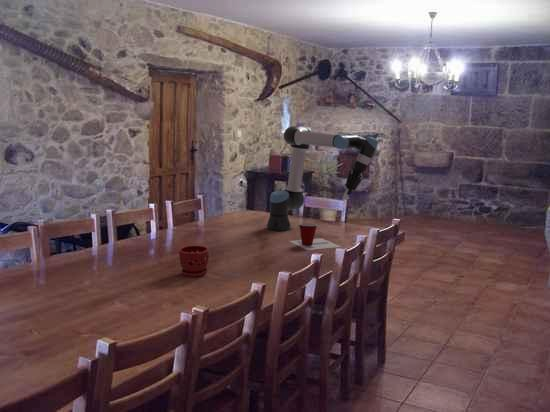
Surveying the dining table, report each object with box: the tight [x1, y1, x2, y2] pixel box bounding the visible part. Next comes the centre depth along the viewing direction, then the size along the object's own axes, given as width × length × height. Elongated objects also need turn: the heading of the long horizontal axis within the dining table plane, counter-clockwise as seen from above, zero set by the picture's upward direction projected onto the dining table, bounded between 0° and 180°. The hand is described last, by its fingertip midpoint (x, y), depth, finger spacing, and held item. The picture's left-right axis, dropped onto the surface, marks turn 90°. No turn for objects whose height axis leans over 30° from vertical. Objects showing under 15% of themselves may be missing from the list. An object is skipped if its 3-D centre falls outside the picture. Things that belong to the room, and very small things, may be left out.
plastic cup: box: [298, 222, 318, 245], centre depth 321 cm, size 11×11×12 cm
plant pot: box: [178, 245, 210, 278], centre depth 258 cm, size 13×13×12 cm
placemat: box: [288, 237, 342, 251], centre depth 324 cm, size 22×22×1 cm
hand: (344, 199), depth 335 cm, fingers closed
